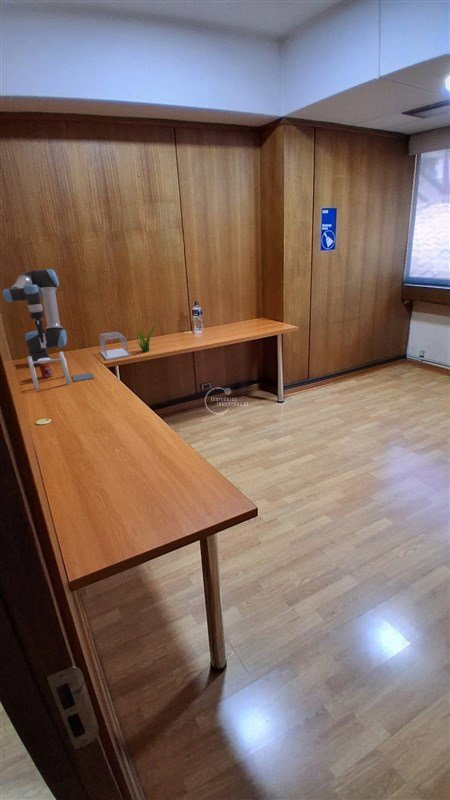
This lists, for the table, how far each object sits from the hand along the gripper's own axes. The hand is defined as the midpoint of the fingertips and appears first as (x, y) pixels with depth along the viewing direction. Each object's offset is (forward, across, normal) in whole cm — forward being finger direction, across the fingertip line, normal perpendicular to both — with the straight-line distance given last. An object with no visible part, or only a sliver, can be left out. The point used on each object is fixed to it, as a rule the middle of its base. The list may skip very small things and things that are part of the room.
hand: (44, 345), depth 248 cm
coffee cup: (+24, 0, -2) cm, 24 cm away
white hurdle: (+20, +15, 0) cm, 25 cm away
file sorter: (+20, -32, +45) cm, 59 cm away
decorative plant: (+20, -31, +70) cm, 79 cm away
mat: (+20, +15, +19) cm, 31 cm away
